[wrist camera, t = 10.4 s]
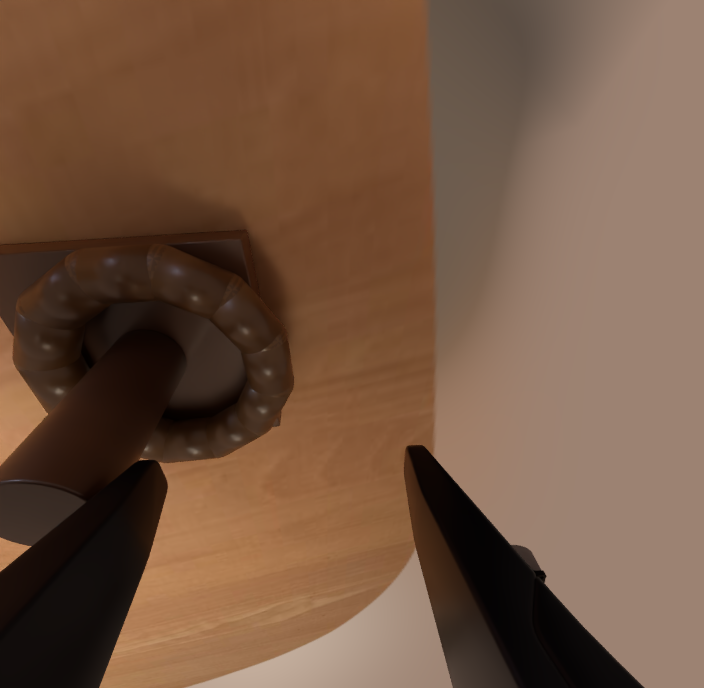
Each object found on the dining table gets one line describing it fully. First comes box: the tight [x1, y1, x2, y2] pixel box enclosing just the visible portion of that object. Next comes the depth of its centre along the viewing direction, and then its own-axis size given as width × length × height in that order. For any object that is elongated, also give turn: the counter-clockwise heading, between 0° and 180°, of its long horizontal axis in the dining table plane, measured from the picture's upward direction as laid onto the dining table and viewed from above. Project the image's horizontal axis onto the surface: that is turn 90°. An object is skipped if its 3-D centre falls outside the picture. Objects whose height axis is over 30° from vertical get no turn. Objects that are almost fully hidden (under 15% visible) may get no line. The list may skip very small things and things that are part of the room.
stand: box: [0, 230, 281, 546], centre depth 10 cm, size 8×8×7 cm
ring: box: [13, 244, 294, 463], centre depth 12 cm, size 8×8×2 cm
